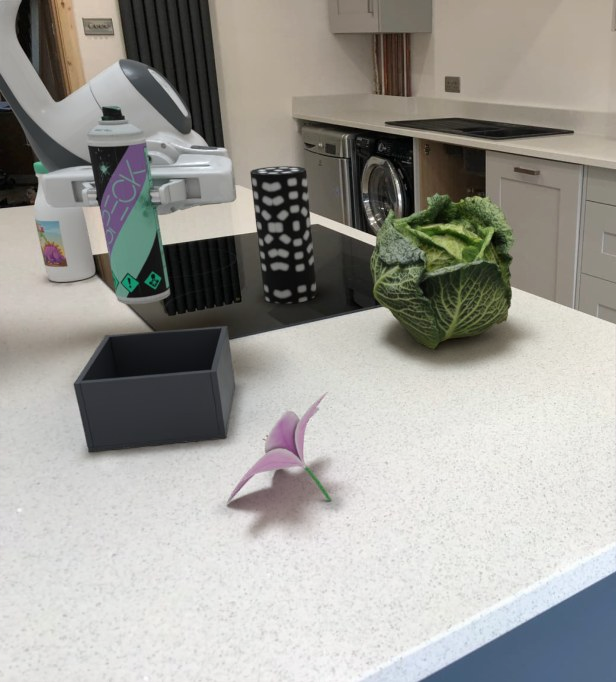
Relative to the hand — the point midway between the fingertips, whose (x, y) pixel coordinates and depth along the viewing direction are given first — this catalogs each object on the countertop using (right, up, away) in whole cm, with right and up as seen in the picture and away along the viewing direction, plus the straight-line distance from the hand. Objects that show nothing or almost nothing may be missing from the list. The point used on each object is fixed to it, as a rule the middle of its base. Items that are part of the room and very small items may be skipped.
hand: (124, 198), depth 76 cm
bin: (+3, -23, +4) cm, 23 cm away
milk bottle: (-34, -4, +54) cm, 64 cm away
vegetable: (+33, -14, +27) cm, 44 cm away
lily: (+19, -29, -10) cm, 36 cm away
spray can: (0, -10, +5) cm, 11 cm away
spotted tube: (+8, -8, +43) cm, 44 cm away
